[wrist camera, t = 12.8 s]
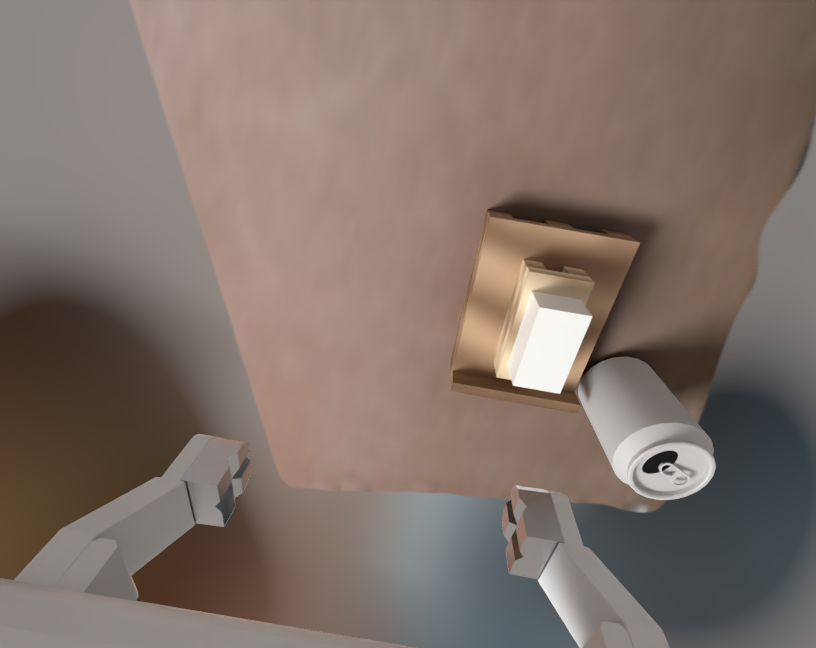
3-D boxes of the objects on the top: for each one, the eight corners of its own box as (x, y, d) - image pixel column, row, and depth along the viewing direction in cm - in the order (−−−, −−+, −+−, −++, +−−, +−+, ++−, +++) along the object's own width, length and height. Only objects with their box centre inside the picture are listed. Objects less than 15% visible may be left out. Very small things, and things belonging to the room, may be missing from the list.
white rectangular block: (531, 291, 30) (539, 307, 27) (579, 299, 30) (592, 316, 27) (507, 364, 33) (512, 385, 31) (551, 372, 33) (560, 393, 31)
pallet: (523, 259, 32) (529, 271, 29) (582, 269, 32) (594, 282, 29) (492, 359, 37) (496, 377, 34) (545, 368, 37) (552, 387, 34)
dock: (487, 209, 33) (493, 222, 29) (625, 233, 33) (652, 249, 29) (450, 362, 41) (450, 391, 36) (562, 381, 41) (576, 413, 36)
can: (617, 338, 38) (684, 422, 27) (668, 378, 39) (749, 472, 29) (560, 386, 41) (599, 477, 30) (609, 421, 42) (662, 520, 32)
